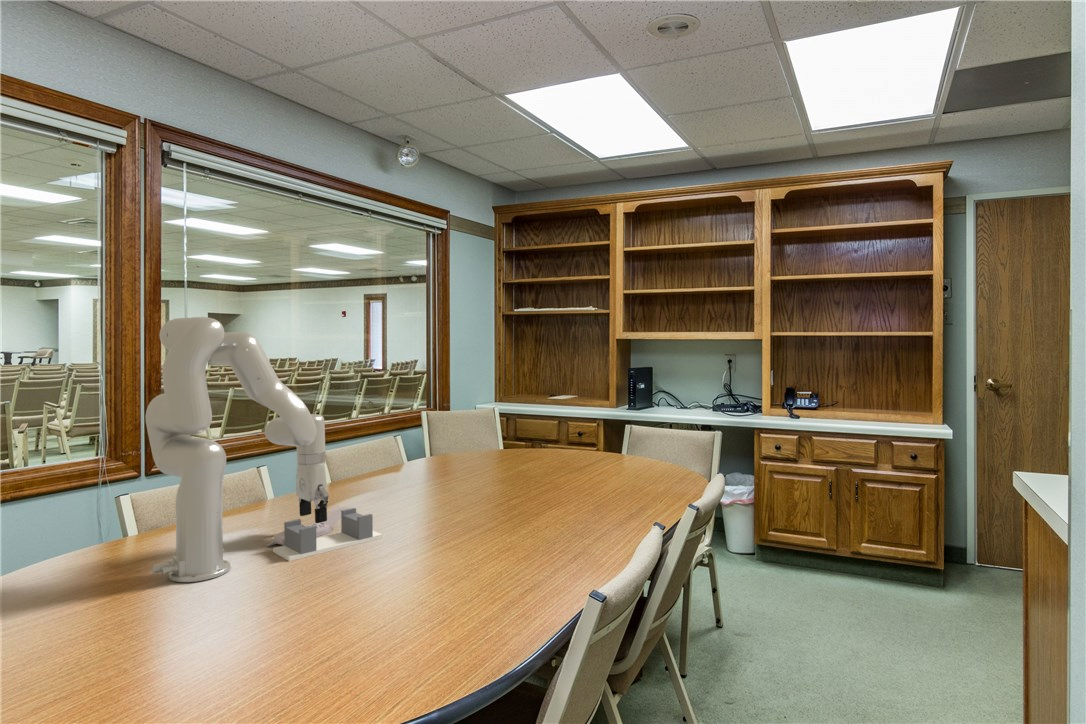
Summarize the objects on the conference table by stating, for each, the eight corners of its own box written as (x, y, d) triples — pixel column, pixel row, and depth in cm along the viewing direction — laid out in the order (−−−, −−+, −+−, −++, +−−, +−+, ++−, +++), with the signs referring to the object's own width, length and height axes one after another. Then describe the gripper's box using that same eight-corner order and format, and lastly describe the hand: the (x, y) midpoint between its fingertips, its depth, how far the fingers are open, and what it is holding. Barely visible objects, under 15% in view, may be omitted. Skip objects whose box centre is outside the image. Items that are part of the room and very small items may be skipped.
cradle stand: (289, 561, 150) (289, 532, 150) (273, 551, 157) (272, 524, 157) (382, 538, 169) (382, 512, 169) (364, 530, 176) (363, 505, 176)
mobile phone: (352, 507, 180) (279, 528, 159) (352, 527, 180) (279, 550, 159) (338, 505, 183) (264, 525, 162) (338, 524, 183) (265, 547, 162)
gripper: (285, 456, 174) (287, 515, 175) (312, 465, 162) (314, 528, 163) (310, 452, 179) (312, 509, 180) (338, 460, 167) (340, 521, 168)
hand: (313, 518), depth 171 cm, fingers open, 9 cm apart
